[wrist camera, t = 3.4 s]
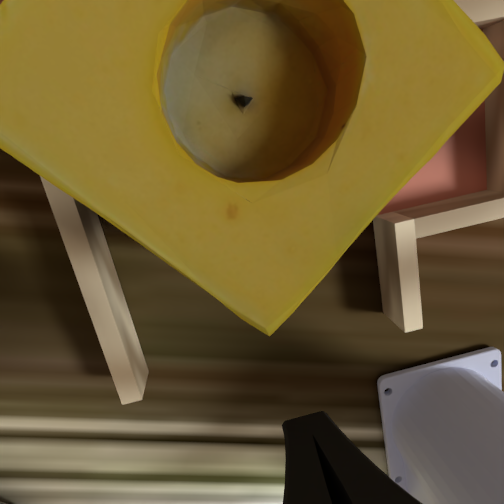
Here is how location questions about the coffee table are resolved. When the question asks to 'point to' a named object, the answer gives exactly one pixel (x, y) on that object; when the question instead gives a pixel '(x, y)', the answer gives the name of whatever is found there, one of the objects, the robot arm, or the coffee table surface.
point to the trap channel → (385, 223)
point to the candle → (238, 124)
